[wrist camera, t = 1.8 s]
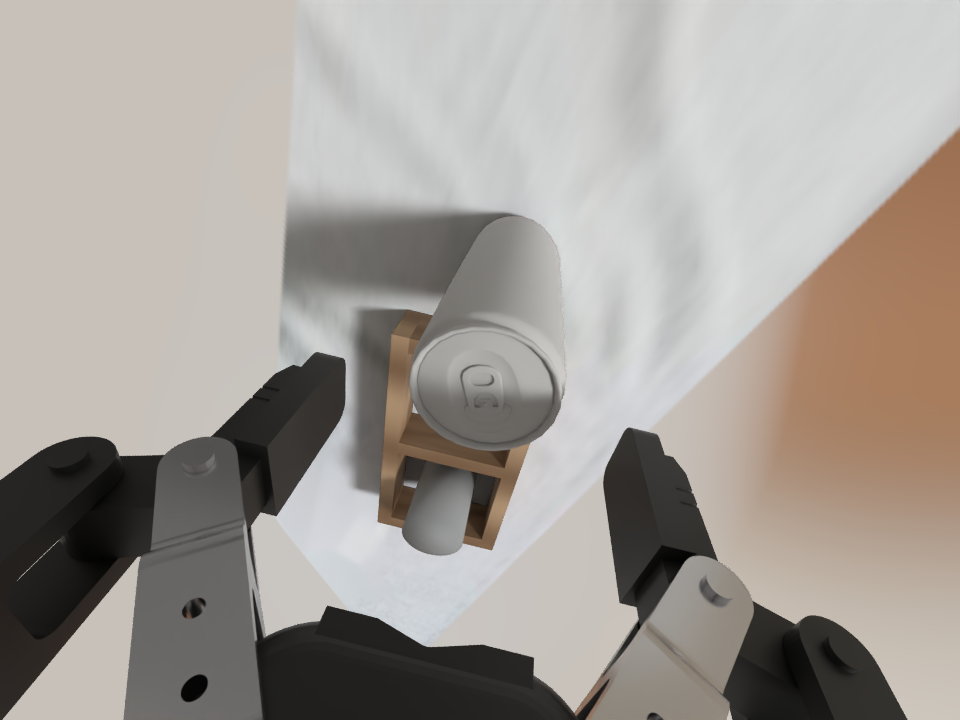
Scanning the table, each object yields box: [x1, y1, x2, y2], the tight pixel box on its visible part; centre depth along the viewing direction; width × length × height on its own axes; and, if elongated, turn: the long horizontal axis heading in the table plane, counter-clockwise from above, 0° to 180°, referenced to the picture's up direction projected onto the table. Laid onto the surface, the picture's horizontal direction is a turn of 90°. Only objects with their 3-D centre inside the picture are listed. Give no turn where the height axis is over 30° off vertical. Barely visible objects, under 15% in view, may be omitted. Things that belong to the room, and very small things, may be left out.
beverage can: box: [409, 216, 566, 451], centre depth 17 cm, size 5×5×12 cm
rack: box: [378, 310, 530, 550], centre depth 28 cm, size 17×9×3 cm, turn 170°
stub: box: [402, 460, 477, 556], centre depth 29 cm, size 4×4×6 cm
